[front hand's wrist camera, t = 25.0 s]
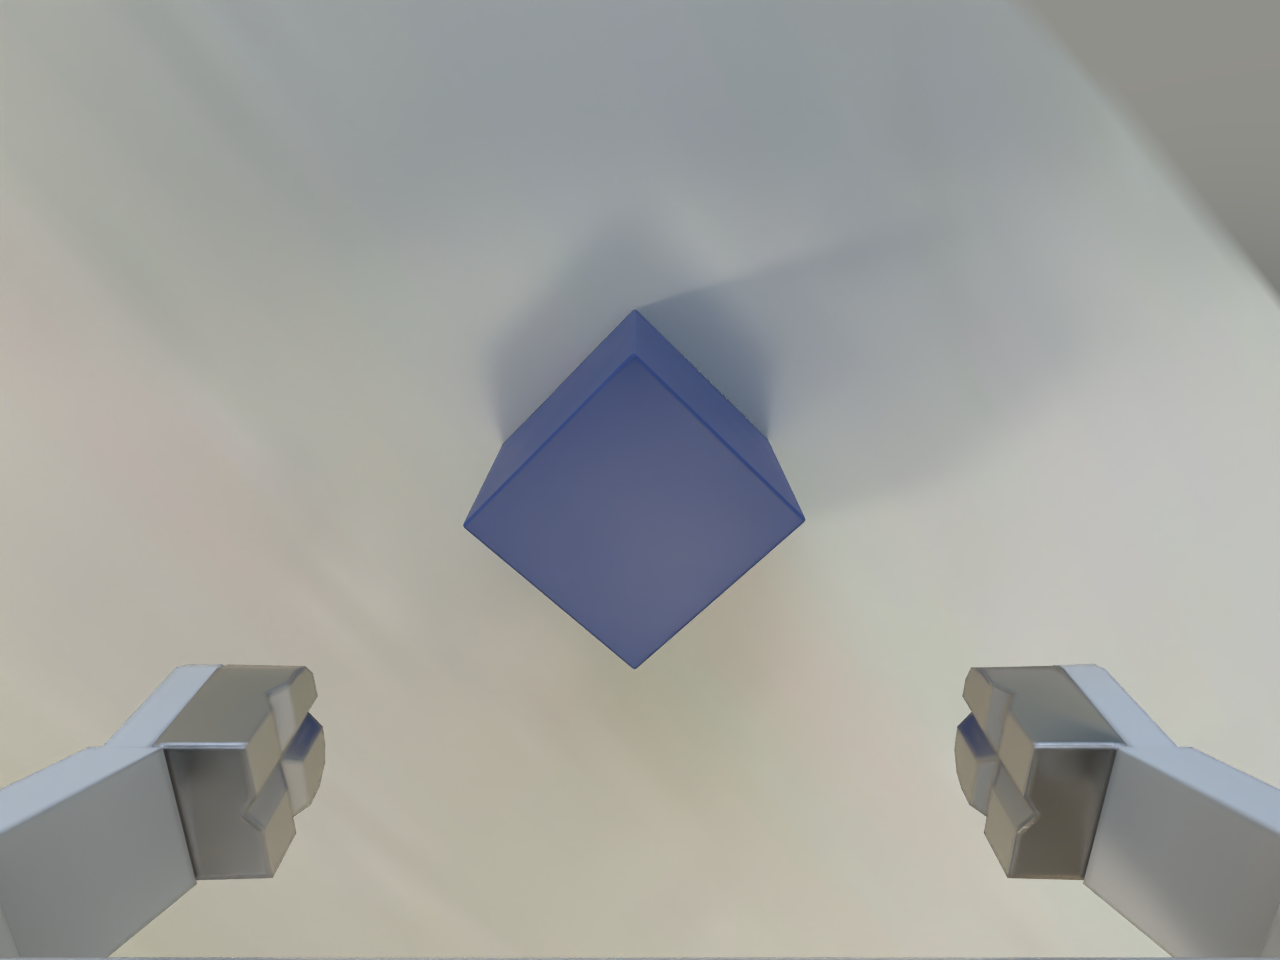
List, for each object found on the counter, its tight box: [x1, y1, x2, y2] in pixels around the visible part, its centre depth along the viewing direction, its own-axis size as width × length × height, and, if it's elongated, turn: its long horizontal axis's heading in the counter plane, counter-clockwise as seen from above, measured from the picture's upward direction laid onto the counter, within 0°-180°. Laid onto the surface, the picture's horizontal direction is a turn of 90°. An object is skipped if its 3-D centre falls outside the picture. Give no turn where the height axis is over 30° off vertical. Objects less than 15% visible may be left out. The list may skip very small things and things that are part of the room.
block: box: [463, 310, 805, 669], centre depth 18 cm, size 5×5×5 cm
